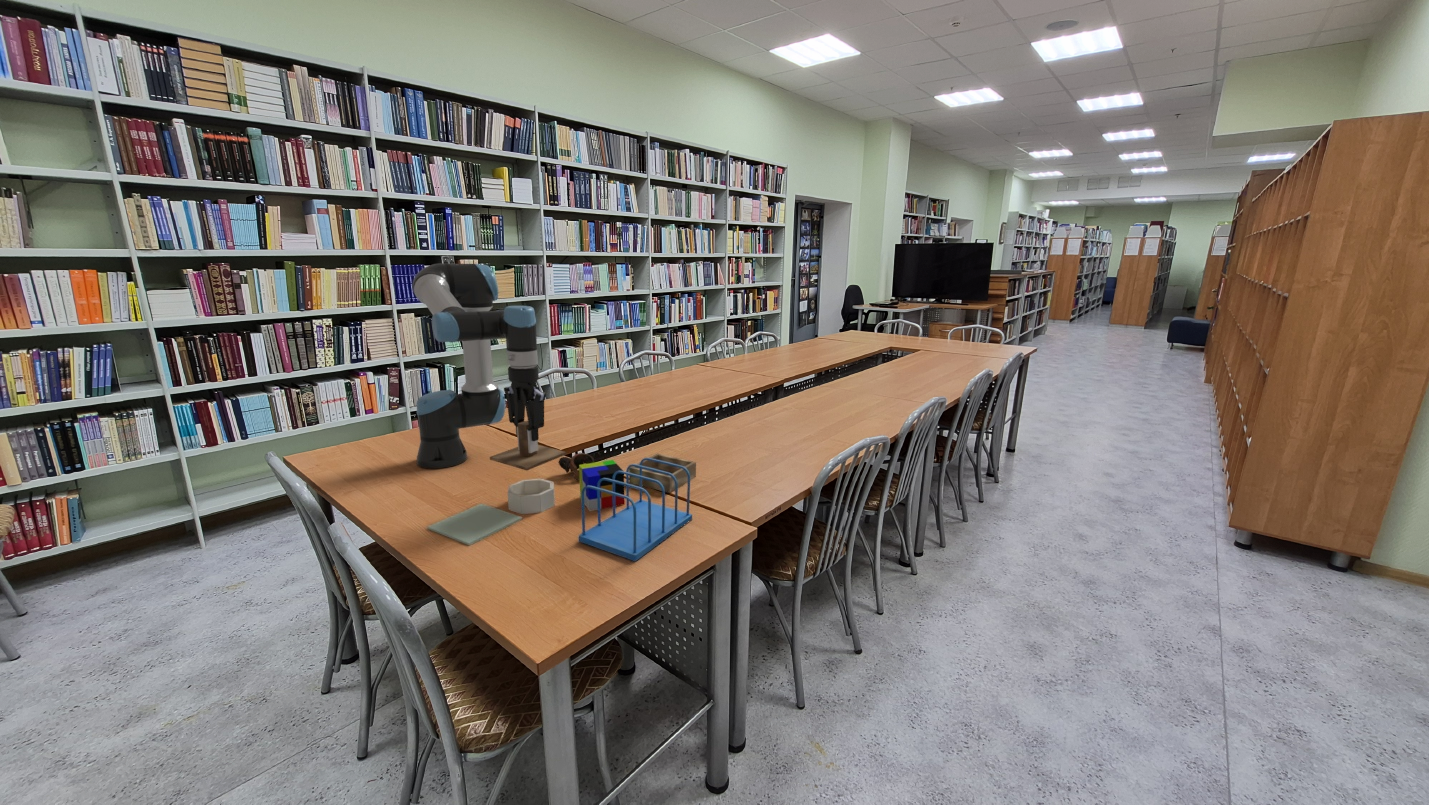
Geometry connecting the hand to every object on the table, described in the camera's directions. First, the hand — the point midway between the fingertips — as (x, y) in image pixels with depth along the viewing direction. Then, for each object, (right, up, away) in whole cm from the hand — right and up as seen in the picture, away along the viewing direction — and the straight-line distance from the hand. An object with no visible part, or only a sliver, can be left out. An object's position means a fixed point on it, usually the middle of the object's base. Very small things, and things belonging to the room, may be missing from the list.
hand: (528, 449), depth 148 cm
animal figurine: (+7, -11, +25) cm, 28 cm away
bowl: (0, -15, +4) cm, 16 cm away
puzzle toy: (+19, -15, +7) cm, 25 cm away
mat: (-11, -18, -9) cm, 23 cm away
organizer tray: (+35, -11, +23) cm, 43 cm away
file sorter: (+31, -20, -10) cm, 39 cm away
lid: (0, -2, +1) cm, 2 cm away
